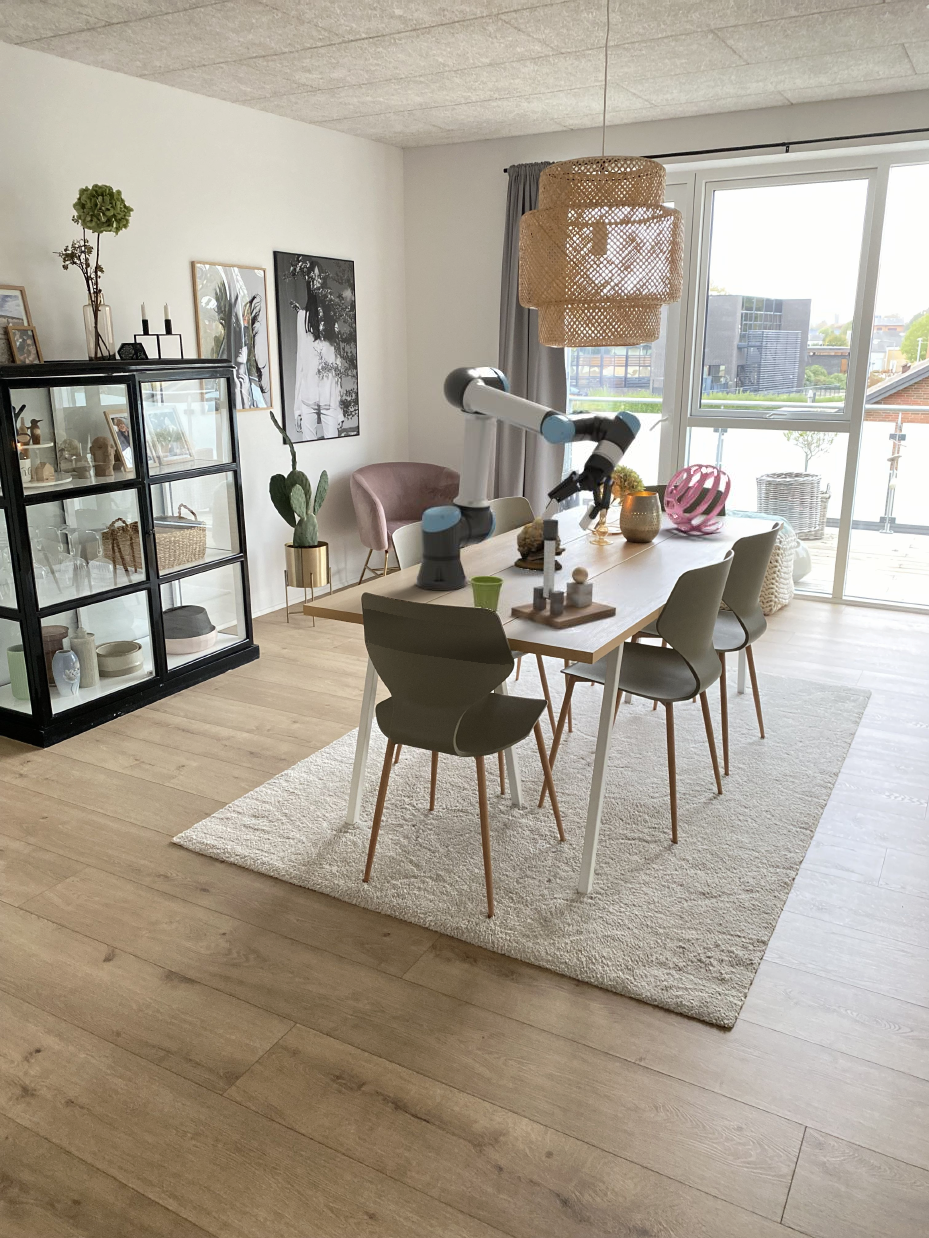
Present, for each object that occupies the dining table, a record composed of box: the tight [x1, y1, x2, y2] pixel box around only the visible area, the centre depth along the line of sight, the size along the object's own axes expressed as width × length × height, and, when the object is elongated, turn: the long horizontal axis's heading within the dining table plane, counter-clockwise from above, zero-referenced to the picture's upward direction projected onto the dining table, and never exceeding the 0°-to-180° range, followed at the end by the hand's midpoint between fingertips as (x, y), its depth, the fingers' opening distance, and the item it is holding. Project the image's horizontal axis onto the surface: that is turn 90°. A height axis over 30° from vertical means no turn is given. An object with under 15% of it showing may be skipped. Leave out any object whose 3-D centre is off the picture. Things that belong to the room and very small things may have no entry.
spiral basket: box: [663, 463, 732, 535], centre depth 375 cm, size 28×28×27 cm
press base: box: [510, 580, 617, 630], centre depth 255 cm, size 18×22×8 cm
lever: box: [542, 518, 559, 600], centre depth 248 cm, size 4×4×21 cm
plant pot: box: [469, 575, 505, 612], centre depth 260 cm, size 9×9×9 cm
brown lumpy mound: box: [513, 516, 567, 572], centre depth 312 cm, size 18×12×17 cm, turn 60°
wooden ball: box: [571, 566, 589, 583], centre depth 257 cm, size 4×4×4 cm
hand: (562, 524), depth 247 cm, fingers open, 13 cm apart
